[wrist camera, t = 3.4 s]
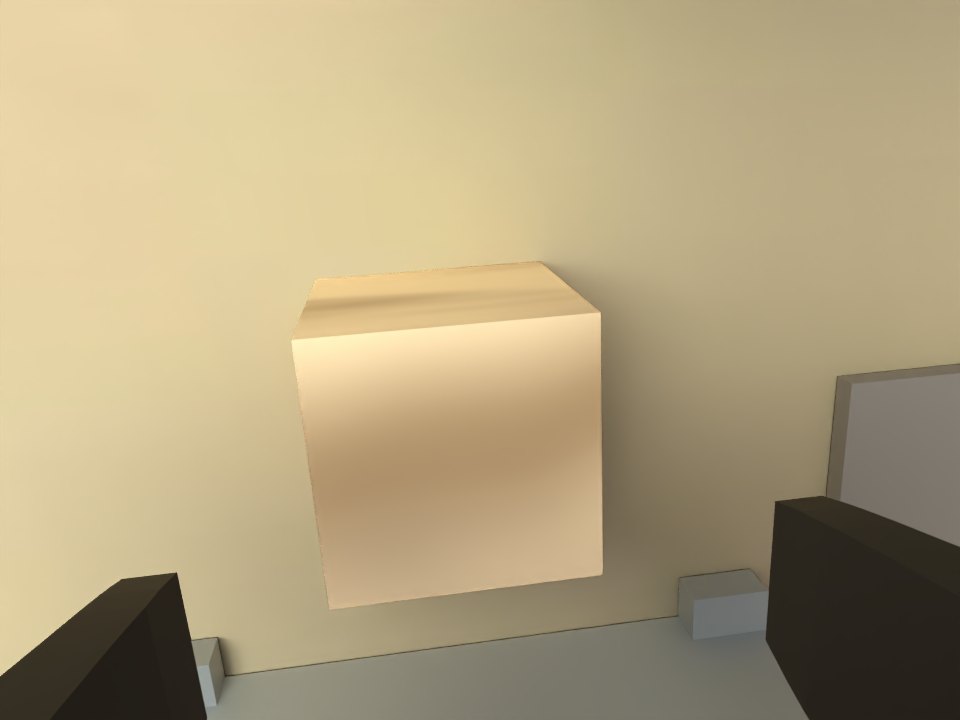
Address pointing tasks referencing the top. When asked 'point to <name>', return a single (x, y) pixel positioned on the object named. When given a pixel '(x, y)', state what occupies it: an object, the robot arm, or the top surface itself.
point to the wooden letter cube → (451, 431)
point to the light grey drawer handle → (543, 672)
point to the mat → (900, 447)
